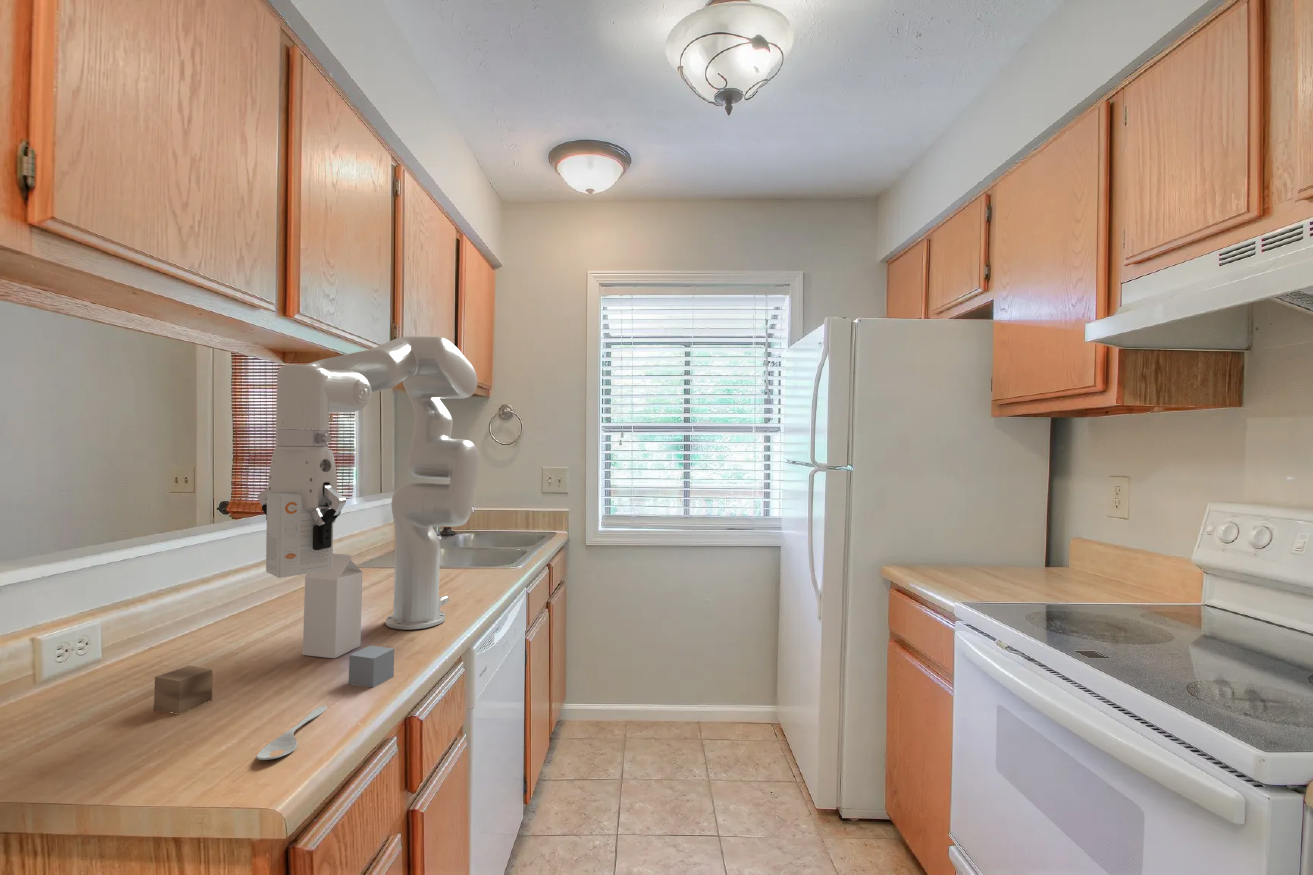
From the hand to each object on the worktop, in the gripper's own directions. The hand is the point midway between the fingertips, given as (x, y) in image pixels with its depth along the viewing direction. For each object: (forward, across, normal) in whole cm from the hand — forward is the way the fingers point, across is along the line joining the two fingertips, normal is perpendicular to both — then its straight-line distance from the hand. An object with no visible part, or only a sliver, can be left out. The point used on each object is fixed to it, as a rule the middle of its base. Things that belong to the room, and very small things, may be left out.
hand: (299, 546), depth 98 cm
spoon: (+24, -11, +10) cm, 28 cm away
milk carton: (+24, +9, -17) cm, 31 cm away
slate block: (+24, -8, -8) cm, 26 cm away
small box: (+4, 0, 0) cm, 4 cm away
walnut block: (+24, +12, +9) cm, 28 cm away
